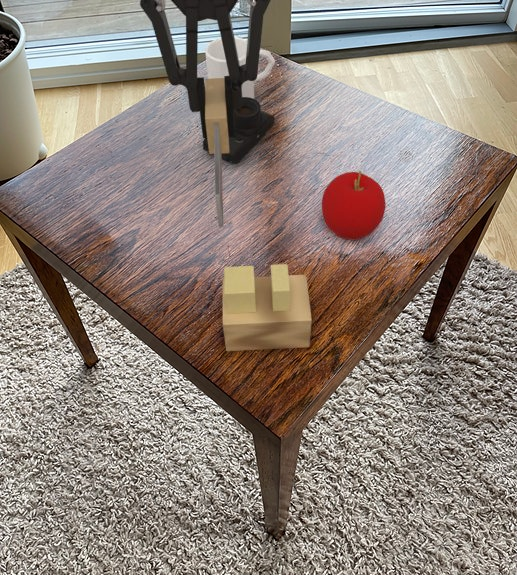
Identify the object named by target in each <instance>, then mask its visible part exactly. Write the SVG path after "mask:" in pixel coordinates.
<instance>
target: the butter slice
mask: <svg viewBox="0 0 517 575" xmlns="http://www.w3.org/2000/svg"><path fill="white" fill-rule="evenodd" d="M289 275H290V274H289V266H288V264H287V263H281V264H270V276H271V292H272V306H273V311H289V310H290V285H289Z"/></svg>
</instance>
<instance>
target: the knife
mask: <svg viewBox="0 0 517 575" xmlns="http://www.w3.org/2000/svg"><path fill="white" fill-rule="evenodd" d="M204 83H205V122H206V130H207V139H208V147H209V152H208V154H209V155H214V196H215V204H216V205H215V206H216V214H217V222H218V227H219V228H220V227H221V228H222V227H224V198H223V197H224V195H223V194H224V192H223V190H224V189H223V162H222V161H223V158H222V155H221V154H222V153H229V135H228V122H227V110H226V98H225V82H224V78H215V79H208V78H204Z"/></svg>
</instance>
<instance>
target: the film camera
mask: <svg viewBox="0 0 517 575" xmlns="http://www.w3.org/2000/svg"><path fill="white" fill-rule="evenodd" d="M242 103H243V106H242V108H241V109H233V115H234V130H235V137H229V153H222V154H221V155H222V160H225V161H226V162H230V163H232V164H235V165H237V164H239V163H240V162H241V161H242V160H243V159H244V158H245V157H246V156H247V154H248V153H250V152H251V150H252V149H253V148H254V147H256V145H257V144H258V143H259V142H260V141H261V140H263V138H264V137H265V136H266V134H267V133H268V131H269V130H270V129H271V128H272V126H273V125H274V123H275V115H273V114H271V113H267V112H265V111H263V110H262V109H261V108H262V107H261V104H260V102H259V101H258V100H256V99H255V98H254V99H253V98H250V97H242ZM202 148H203V150H204V151H206V152H208V153H209V147H208V139H207V138H204V139H203V140H202Z"/></svg>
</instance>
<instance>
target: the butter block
mask: <svg viewBox="0 0 517 575" xmlns="http://www.w3.org/2000/svg"><path fill="white" fill-rule="evenodd" d="M223 269H224V270H223V279H224V294H225V303H226V311H227V314H234V313H253V312H256V300H255V280H254V277H255V266H254V265H242V266H225V267H224V268H223Z"/></svg>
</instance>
